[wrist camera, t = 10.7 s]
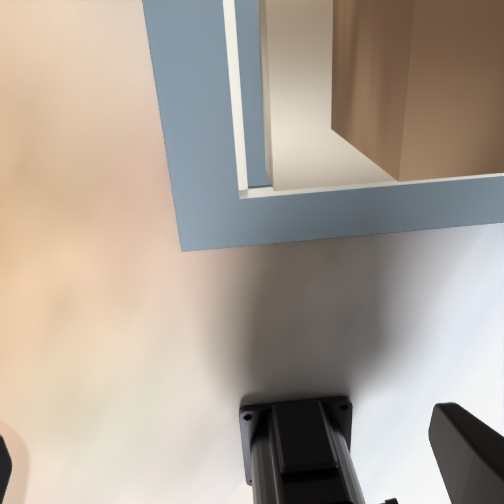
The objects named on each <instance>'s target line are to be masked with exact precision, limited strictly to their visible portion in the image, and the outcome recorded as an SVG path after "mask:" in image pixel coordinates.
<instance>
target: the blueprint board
mask: <svg viewBox="0 0 504 504" xmlns="http://www.w3.org/2000/svg"><path fill="white" fill-rule="evenodd" d="M142 3H143V9H144V15H145V22H146V28H147V35H148V41H149V47H150V54H151V60H152V66H153V73H154V79H155V86H156V92H157V98H158V105H159V111H160V117H161V124H162V130H163V137H164V143H165V149H166V156H167V162H168V168H169V175H170V181H171V188H172V194H173V200H174V207H175V213H176V219H177V226H178V232H179V239H180V245H181V251H182V252H186V251H197V250H208V249H219V248H230V247H241V246H252V245H263V244H274V243H285V242H296V241H307V240H317V239H328V238H339V237H350V236H361V235H372V234H383V233H394V232H405V231H416V230H427V229H438V228H449V227H460V226H471V225H482V224H492V223H503V222H504V173H496V174H484V175H473V176H461V177H450V178H438V179H427V180H416V181H404V182H398V181H387V182H375V183H364V184H352V185H341V186H329V187H318V188H306V189H295V190H283V191H274V190H273V187H272V184H271V182H270V179H269V176H268V174H267V171H266V166H265V147H264V128H263V109H262V91H261V72H260V53H259V34H258V15H257V0H142Z"/></svg>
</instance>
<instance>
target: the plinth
mask: <svg viewBox="0 0 504 504" xmlns="http://www.w3.org/2000/svg"><path fill="white" fill-rule="evenodd" d="M257 15H258V34H259V53H260V72H261V91H262V109H263V128H264V147H265V166H266V171H267V174H268V176H269V179H270V182H271V184H272V187H273V190H274V191H283V190H295V189H306V188H318V187H329V186H341V185H352V184H364V183H375V182H387V181H397V180H395V179H394V178H393V177H392V176H390V175H389V174H388V173H387V172H385V171H384V170H383V169H381V168H380V167H379V166H378V165H376V164H375V163H374V162H373V161H371V160H370V159H369V158H367V157H366V156H365V155H364V154H362V153H361V152H360V151H359V150H357V149H356V148H355V147H353V146H352V145H351V144H350V143H348V142H347V141H346V140H345V139H343V138H342V137H341V136H339V135H338V134H337V133H336V132H334V131H333V130H332V129H331V99H332V37H333V0H257Z"/></svg>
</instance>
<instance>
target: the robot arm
mask: <svg viewBox="0 0 504 504" xmlns="http://www.w3.org/2000/svg"><path fill="white" fill-rule="evenodd" d="M343 404H344V405H343ZM352 407H353V406H352V403H351V400H350V398H349V397H347V396H335V397H325V398H316V399H306V400H297V401H287V402H278V403H268V404H259V405H249V406H244V407H242V408H241V409H240V410H239V422H240V431H241V440H242V449H243V458H244V467H245V476H246V483H247V484H248V485H250V486H252V488H253V502H254V504H366V503H365V500H364V497H363V494H362V491H361V488H360V484H359V481H358V478H357V475H356V472H355V469H354V466H353V463H352V459H351V456H350V444H351V426H352ZM247 414H250V415H247ZM429 441H430V444H431V447H432V450H433V452H434V455H435V458H436V461H437V464H438V467H439V469H440V472H441V475H442V478H443V481H444V483H445V486H446V489H447V492H448V495H449V498H450V500H451V503H452V504H504V437H503V436H502V435H500V434H499V433H498V432H496V431H495V430H493V429H492V428H491V427H489V426H488V425H486V424H485V423H484V422H482V421H481V420H479V419H478V418H477V417H475V416H474V415H472V414H471V413H470V412H468V411H467V410H465V409H464V408H463V407H461V406H460V405H458V404H456V403H453V402H449V403H438V404H436V405H435V406H434V408H433V412H432V417H431V422H430V426H429ZM11 471H12V461H11V457H10V455H9V452H8V449H7V447H6V444H5V442H4V439H3V437H2V436H1V435H0V504H2V502H3V498H4V495H5V492H6V489H7V485H8V482H9V478H10V475H11ZM381 504H398V502H397V499H396V498H392V499H388V500H385V503H381Z"/></svg>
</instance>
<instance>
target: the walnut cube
mask: <svg viewBox="0 0 504 504" xmlns="http://www.w3.org/2000/svg"><path fill="white" fill-rule="evenodd" d="M331 129H332V130H333V131H334V132H336V133H337V134H338V135H339V136H341V137H342V138H343V139H345V140H346V141H347V142H348V143H350V144H351V145H352V146H353V147H355V148H356V149H357V150H359V151H360V152H361V153H362V154H364V155H365V156H366V157H367V158H369V159H370V160H371V161H373V162H374V163H375V164H376V165H378V166H379V167H380V168H381V169H383V170H384V171H385V172H387V173H388V174H389V175H390V176H392V177H393V178H394V179H395V180H397V181H398V182H404V181H416V180H427V179H438V178H450V177H461V176H473V175H484V174H496V173H504V0H333V37H332V99H331Z"/></svg>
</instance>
